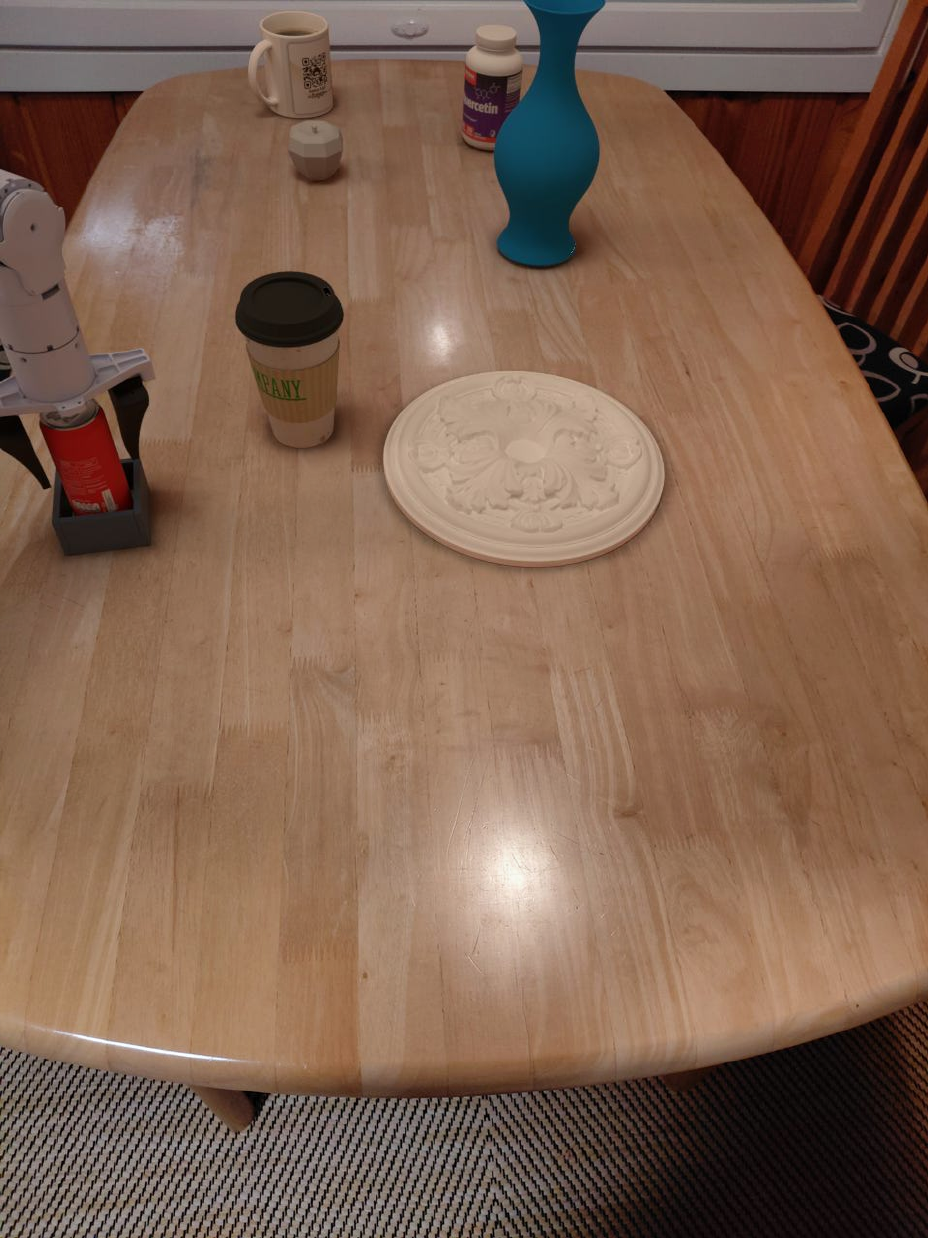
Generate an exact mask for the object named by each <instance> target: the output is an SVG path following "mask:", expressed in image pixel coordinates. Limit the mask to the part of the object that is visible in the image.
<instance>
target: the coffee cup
mask: <svg viewBox="0 0 928 1238" xmlns="http://www.w3.org/2000/svg"><path fill="white" fill-rule="evenodd" d="M344 316H345V312H344V309H343V304H342V302H341V300H340V299H339V297H338V296H337V295H336V292H335V290H334V289H333V287H332V285H331V284H329V282H328V281H327V280H325V279H323V278H321V277H320V276H317V275H315V274H312V273H308V272H303V271H295V270H294V271H293V270H292V271H291V270H285V271H277V272H270V273H267V274H263V275H260V276H259V277H257V278H254V279H253V280H251V281H250V282H248V283H247V284H246V285H245V286H244V288H242V291H241V293H240V296H239V300H238V302H237V305H236V308H235V312H234V322H235V325H236V327H237V329H238V331H239V332H240V333H241V334H242V335H243V337H244V340H245V350H246V353H247V356H248V359H249V363H250V366H251V369H252V370H251V371H252V373H253V376H254V379H255V383H256V386H257V389H258V393H259V396H260V399H261V402H262V405H263V408H264V410H265V412H266V414H267V417H268V421H269V423H270V427H271V431H272V434H273V436H274V437H275V439H276V440H277V441H278V442H279V443H280V444H283V445H285V446H287V447H290V448H295V449H307V448H308V449H309V448H313V447H317V446H318V445H321V444H323V443H324V442H326V441H327V440H328V439H330V437H331V436H332V435H333V432H334V427H335V408H336V404H337V400H338V399H337V398H338V397H337V396H338V383H339V382H338V381H339V380H338V379H339V364H340V363H339V362H340V347H341V346H340V345H341V341H340V336H339V332H340V327H341V326H342V324H343V322H344V318H345V317H344Z"/></svg>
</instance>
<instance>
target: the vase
mask: <svg viewBox="0 0 928 1238" xmlns="http://www.w3.org/2000/svg"><path fill="white" fill-rule="evenodd" d="M522 1H523V3H524V4H525V6H526V7H527V8H528V9H529V11H530V13H531V14H532V16H533V18H534V20H535V22H536V25H537V30H538V34H539V56H538V57H539V59H538V64H537V69H536V72H535V74H534V77H533V79H532V82H531V83H530V86H529V87H528V89H527V91H526V92H525V94H524V95H523V96H522V98H520V102H519V103H518V105H517V106H516V107H515V108H514V109H513V110H512V112H511V113H510V114H509V115H508V117H507V118H506V120H505V121H504V123H503V125H502V126H501V128H500V130H499V133H498V135H497V138H496V142H495V147H494V151H493V163H494V164H493V165H494V172H495V176H496V179H497V182H498V184H499V187H500V189H501V191H502V193H503V196H504V198H505V201H506V203H507V208H508V211H509V217H508V222H507V225H506V227H505V228H504V229H503V230H502V231H501V232H500V234H499V235H498V237H497V239H496V246H497V247H496V248H497V249H498V251H499V252H500V253H501V254H502V255H504V257H506V258H507V259H508V260H510V261H512V262H514V263H517V264H520V265H523V266H529V267H535V268H538V267H551V266H557V265H559V264H561V263H564V262H566V261H567V260H569V259H570V258H572V257H573V256H574V254H575V253H576V252H577V241H576V239H575V237H574V236H573V234H572V233H571V230H570V221H571V218H572V214H573V213H574V210H575V209H576V207H577V205H578V204H579V202H580V201H581V200H582V199H583V197H584V195H585V194H586V193H587V191H588V190H589V188H590V186H591V185H592V183H593V181H594V179H595V176H596V173H597V170H598V167H599V163H600V155H601V148H600V145H601V144H600V139H599V135H598V132H597V128H596V125H595V124H594V121H593V119H592V117H591V116H590V114H589V112H588V110H587V108H586V106H585V104H584V102H583V99H582V97H581V95H580V92H579V88H578V85H577V79H576V57H577V51H578V46H579V42H580V39H581V36H582V34H583V33H584V30H585V29H586V27H587V25H588V24H589V23H590V21H591V20H593V18H594V17H595V16H596V15H597V14H598V13H599V12H600V11H601V10H602V9H603V8H604V7H605V5H606V3H607V2H606V1H607V0H522ZM575 243H576V245H575ZM574 247H575V249H574ZM573 249H574V250H573ZM572 251H573V252H572ZM571 252H572V253H571Z"/></svg>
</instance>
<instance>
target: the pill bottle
mask: <svg viewBox="0 0 928 1238" xmlns="http://www.w3.org/2000/svg"><path fill="white" fill-rule="evenodd" d="M475 44H476V45H473V46H472V47H471V48H470V49H469V50H468V51H467V53H466V55H465V60H464V80H463V81H464V84H463V106H462V121H461V135H462V138H463V140H464V142H466V143H467V144H468V145H470V146H471V147H473V148H476V149H479V150H484V151H493V152H494V146H495V142H496V138H497V135H498V133H499V130H500V128H501V126H502V125H503V123H504V121H505V120H506V118H507V117H508V115H509V114H510V113H511V112H512V110H513V109H514V108H515V107H516V106H517V105H518V103H519V102H520V101H521V92H522V91H521V89H522V81H523V80H522V79H523V69H524V58H523V56H522V54H521V52H520V51H519V50H518V49H517V48H516V45H517V31H516V30H515V29H514V28H512V27H510V26H508V25H503V24H496V23H495V24H494V23H493V24H485V25H481V26H479V27H478V28H477V29H476V32H475ZM489 146H493V147H489Z"/></svg>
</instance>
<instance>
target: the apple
mask: <svg viewBox="0 0 928 1238" xmlns="http://www.w3.org/2000/svg"><path fill="white" fill-rule="evenodd" d="M287 151H288V153H289V157H290V159H291V161H292V164H293V165H294V167H295V168H296V170H297V171H298V173H299V174H300V175H302V176H303V177H304V178H307V179H308V180H311V181H325V180H327V179H329V178H331V177H332V176H334V175H335V174H336V172H337V170H338V168H339V166H340V164H341V160H342V155H343V153H344V137H343V134H342V132H341V129H340V127H339V126H338V125H335V124H333V123H331V122H329V121H326V120H319V119H314V120H313V119H312V120H311V119H309V120H308V119H305V120H304V121H301V122H299V123H297V124H294V125H292V126H291V127H290V130H289V136H288V144H287Z"/></svg>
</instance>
